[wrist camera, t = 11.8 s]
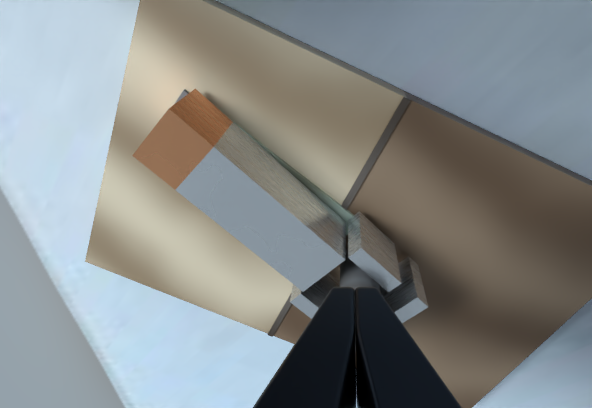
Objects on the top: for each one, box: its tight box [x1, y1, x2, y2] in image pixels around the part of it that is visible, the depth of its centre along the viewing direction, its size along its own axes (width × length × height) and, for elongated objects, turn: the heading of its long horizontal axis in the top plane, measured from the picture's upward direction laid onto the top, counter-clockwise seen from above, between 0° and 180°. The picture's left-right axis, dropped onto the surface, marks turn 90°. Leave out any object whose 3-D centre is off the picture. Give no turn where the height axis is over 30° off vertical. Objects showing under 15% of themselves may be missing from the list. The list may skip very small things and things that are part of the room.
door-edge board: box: [85, 0, 592, 408], centre depth 19 cm, size 15×24×6 cm, turn 67°
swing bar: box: [132, 89, 428, 323], centre depth 18 cm, size 13×4×3 cm, turn 47°
